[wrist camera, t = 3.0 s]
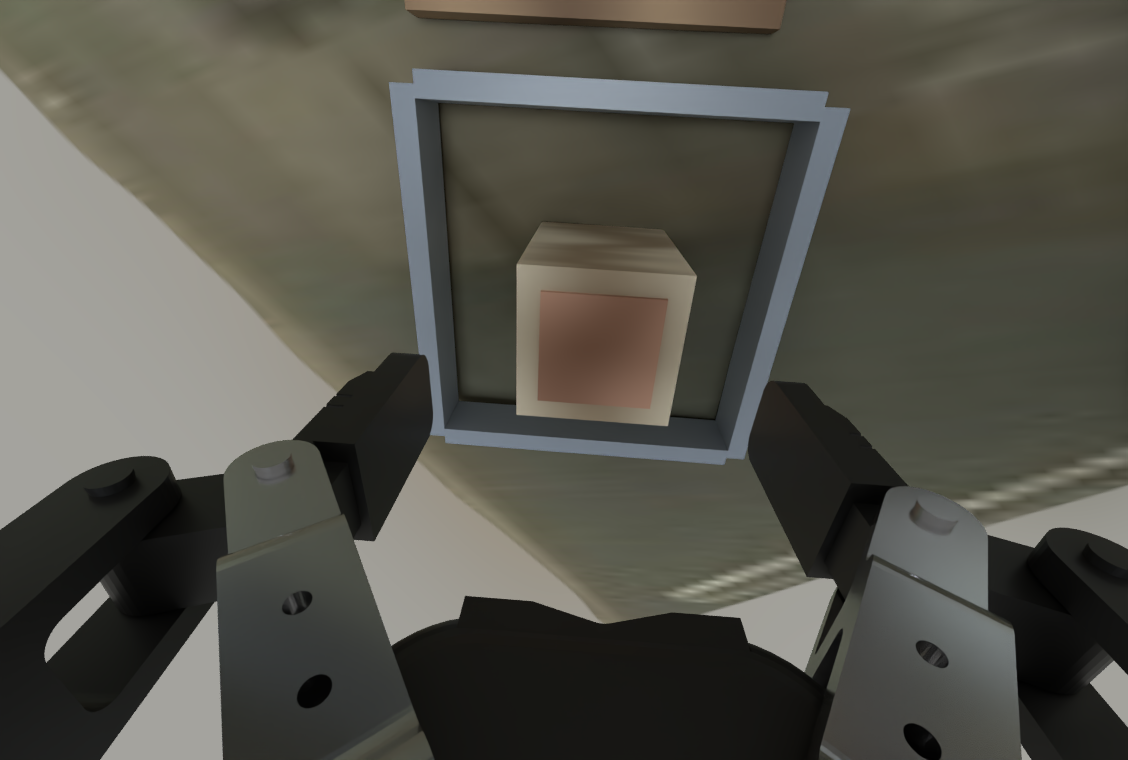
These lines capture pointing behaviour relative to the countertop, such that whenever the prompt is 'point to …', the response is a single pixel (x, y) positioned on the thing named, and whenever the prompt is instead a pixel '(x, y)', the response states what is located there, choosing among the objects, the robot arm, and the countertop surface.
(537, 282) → the block
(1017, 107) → the countertop surface
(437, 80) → the bin
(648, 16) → the board
